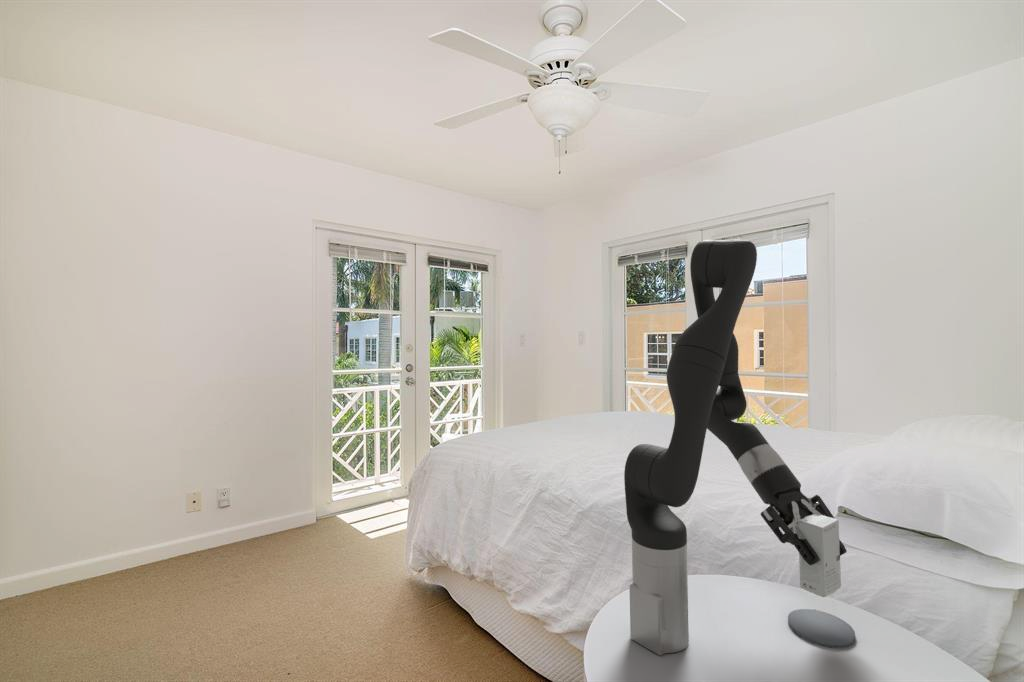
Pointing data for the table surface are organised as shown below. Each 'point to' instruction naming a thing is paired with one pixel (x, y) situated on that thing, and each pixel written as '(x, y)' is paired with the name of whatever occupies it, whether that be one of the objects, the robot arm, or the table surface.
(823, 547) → the skincare box
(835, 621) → the coaster mat
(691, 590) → the table surface
